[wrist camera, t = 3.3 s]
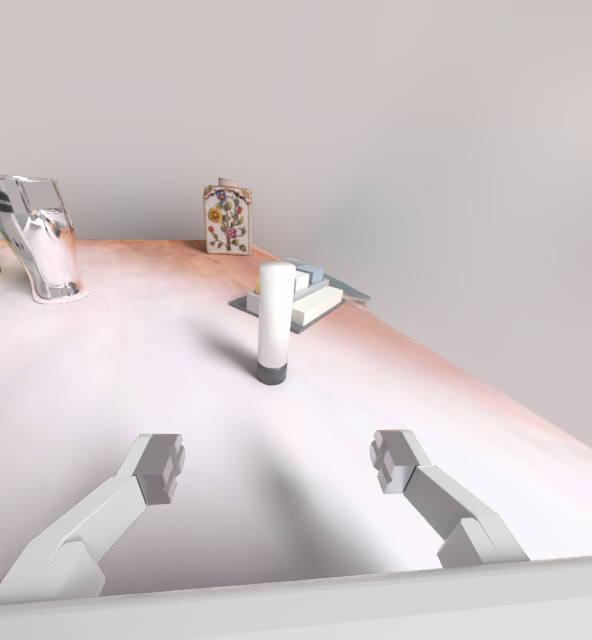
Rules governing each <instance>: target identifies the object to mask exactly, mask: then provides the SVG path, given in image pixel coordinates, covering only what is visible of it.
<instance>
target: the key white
mask: <svg viewBox="0 0 592 640" xmlns="http://www.w3.org/2000/svg"><path fill="white" fill-rule="evenodd" d="M308 282H309V274H307V273H304V272H300V271H296V270H295V281H294V292H299V291H301V290H303V289H305V288H308Z"/></svg>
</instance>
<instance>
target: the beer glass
mask: <svg viewBox="0 0 592 640" xmlns="http://www.w3.org/2000/svg"><path fill="white" fill-rule="evenodd" d="M0 232H1V233H2V235H3V237H4V239H5V240H6V242H7V243H8V245H9V246H10V248H11V249H12V251H13V252H14V253H15V255H16V256H17V258H18V259H19V261H20V262H21V264H22V265H23V267H24V268H25V270H26V272H27V274H28V276H29V279H30V282H31V287H32V293H33V298H34V300H35V301H36V302H38V303H42V304H60V303H67V302H72V301H76V300H79V299H82V298H84V297H86V296H88V295H89V293H90V291H89V289H88V287H87V285H86V283H85V282H84V280H83V278H82V276H81V274H80V271H79V267H78V262H77V254H76V243H75V235H74V228H73V224H72V220H71V216H70V214H69V210H68V207H67V205H66V202H65V200H64V197H63V195H62V192H61V190H60V187H59V185H58V182H57V180H54V179H46V178H34V177H23V176H10V175H0Z"/></svg>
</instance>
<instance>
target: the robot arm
mask: <svg viewBox="0 0 592 640" xmlns="http://www.w3.org/2000/svg"><path fill="white" fill-rule="evenodd" d="M374 438H375V440H374V441H373V442H372V443H371V446H370V457H371V461H372V464H373V466H374V467H375V468H376V469H377V470H378V471H379V472H378V476H377V478H378V480H379V483H380V486H381V488H382V491H383V494H392V493H404V494H403V495H404V496H405V497H406V498H407V499H408V500H409V502H410V503H411V504H412V505H413V506H414V507H415V508H416V509H417V511H418V512H419V513H420V514H421V515H422V516H423V517H424V518H425V519H426V521H427V522H428V523H429V524H430V525H431V526H432V527H433V528H434V530H435V531H436V532H437V533H438V534H439V535H440V536H441V537H442V539H443V540H444V541H445V542H444V543H443V544H442V546H441V547H440V549H439V550H438V553H437V556H438V558H439V560H440V562H441V565H442V567H443V568H438V569H426V570H414V571H402V572H390V573H378V574H366V575H354V576H342V577H331V578H319V579H307V580H295V581H283V582H271V583H259V584H247V585H235V586H223V587H211V588H199V589H187V590H175V591H163V592H151V593H139V594H127V595H115V596H103V597H99V596H100V593H101V591H102V589H103V586H104V584H105V581H106V578H105V575H104V574H103V572H102V571H101V569H100V568H99V566H98V565H97V563H98V562H99V561H100V559H101V558H102V557H103V556H104V555H105V554H106V553H107V551H108V550H109V549H110V548H111V547H112V546H113V545H114V543H115V542H116V541H117V540H118V539H119V538H120V537H121V535H122V534H123V533H124V532H125V531H126V530H127V529H128V527H129V526H130V525H131V524H132V523H133V522H134V521H135V519H136V518H137V517H138V516H139V515H140V514H141V513H142V511H143V510H144V509H145V508H146V505H157V504H170V503H171V501H172V498H173V495H174V492H175V489H176V486H177V482H176V477H177V476H178V475H179V474H180V473H181V471H182V468H183V464H184V459H185V449H184V447H183V446H182V445H181V443H182V440H183V439H182V435H181V434H140V435H139V436H138V437H137V438H136V440H135V441H134V443H133V445H132V447H131V448H130V450H129V452H128V454H127V456H126V457H125V459H124V461H123V463H122V465H121V466H120V468H119V470H118V472H117V473H116V475H115V476H114V477H109V478H108V479H107V480H106V481H105V482H103V483H102V484H101V485H100V486H98V487H97V488H96V489H95V490H93V491H92V492H91V493H90V494H88V495H87V496H86V497H85V498H83V499H82V500H81V501H80V502H78V503H77V504H76V505H75V506H73V507H72V508H71V509H70V510H69V511H67V512H66V513H65V514H64V515H62V516H61V517H60V518H59V519H57V520H56V521H55V522H54V523H52V524H51V525H50V526H49V527H47V528H46V529H45V530H44V531H42V532H41V533H40V534H39V535H37V536H36V537H35V538H34V539H33V540H31V541H30V542H29V543H28V544H27V546H26V547H25V549H24V550H23V551H22V553H21V554H20V556H19V557H18V559H17V560H16V561H15V563H14V564H13V566H12V567H11V569H10V570H9V571H8V573H7V574H6V576H5V577H4V578H3V580H2V581H1V583H0V640H592V556H582V557H570V558H558V559H546V560H534V561H530V559H529V558H528V557H527V555H526V554H525V552H524V551H523V549H522V548H521V546H520V545H519V544H518V542H517V541H516V539H515V538H514V536H513V535H512V534H511V532H510V531H509V529H508V528H507V526H506V525H505V524H504V522H503V521H502V519H501V518H500V516H499V515H498V514H497V513H495V512H494V511H493V510H491V509H490V508H489V507H488V506H486V505H485V504H484V503H483V502H481V501H480V500H479V499H478V498H476V497H475V496H474V495H472V494H471V493H470V492H469V491H467V490H466V489H465V488H464V487H462V486H461V485H460V484H459V483H457V482H456V481H455V480H453V479H452V478H451V477H450V476H448V475H447V474H446V473H445V472H443V471H442V470H441V469H440V468H438V467H437V466H433V465H432V464H431V462H430V460H429V459H428V457H427V455H426V454H425V452H424V450H423V449H422V447H421V445H420V444H419V442H418V440H417V438H416V437H415V435H414V433H413V432H412V431H411V430H377V431H376V432H375V433H374Z"/></svg>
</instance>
